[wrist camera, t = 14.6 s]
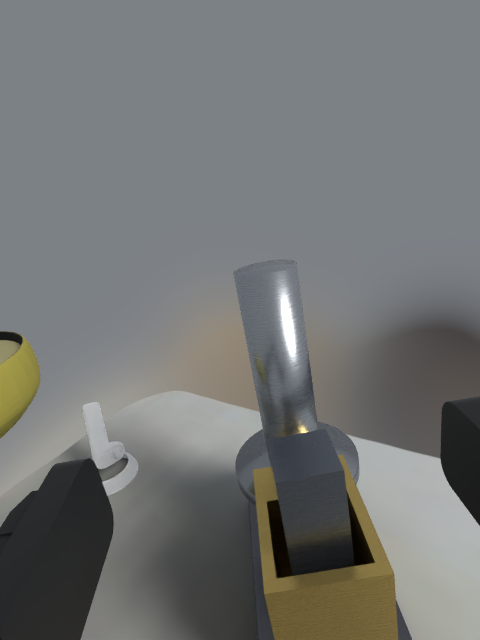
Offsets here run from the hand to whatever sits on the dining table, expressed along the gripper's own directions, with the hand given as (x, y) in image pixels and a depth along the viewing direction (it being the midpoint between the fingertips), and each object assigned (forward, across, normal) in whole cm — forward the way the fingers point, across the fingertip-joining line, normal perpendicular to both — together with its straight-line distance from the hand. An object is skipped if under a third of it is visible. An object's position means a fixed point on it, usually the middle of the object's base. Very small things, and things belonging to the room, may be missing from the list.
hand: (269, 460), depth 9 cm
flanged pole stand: (+17, -2, +28) cm, 32 cm away
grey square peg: (+12, -2, +26) cm, 29 cm away
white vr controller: (+35, +22, +29) cm, 50 cm away
